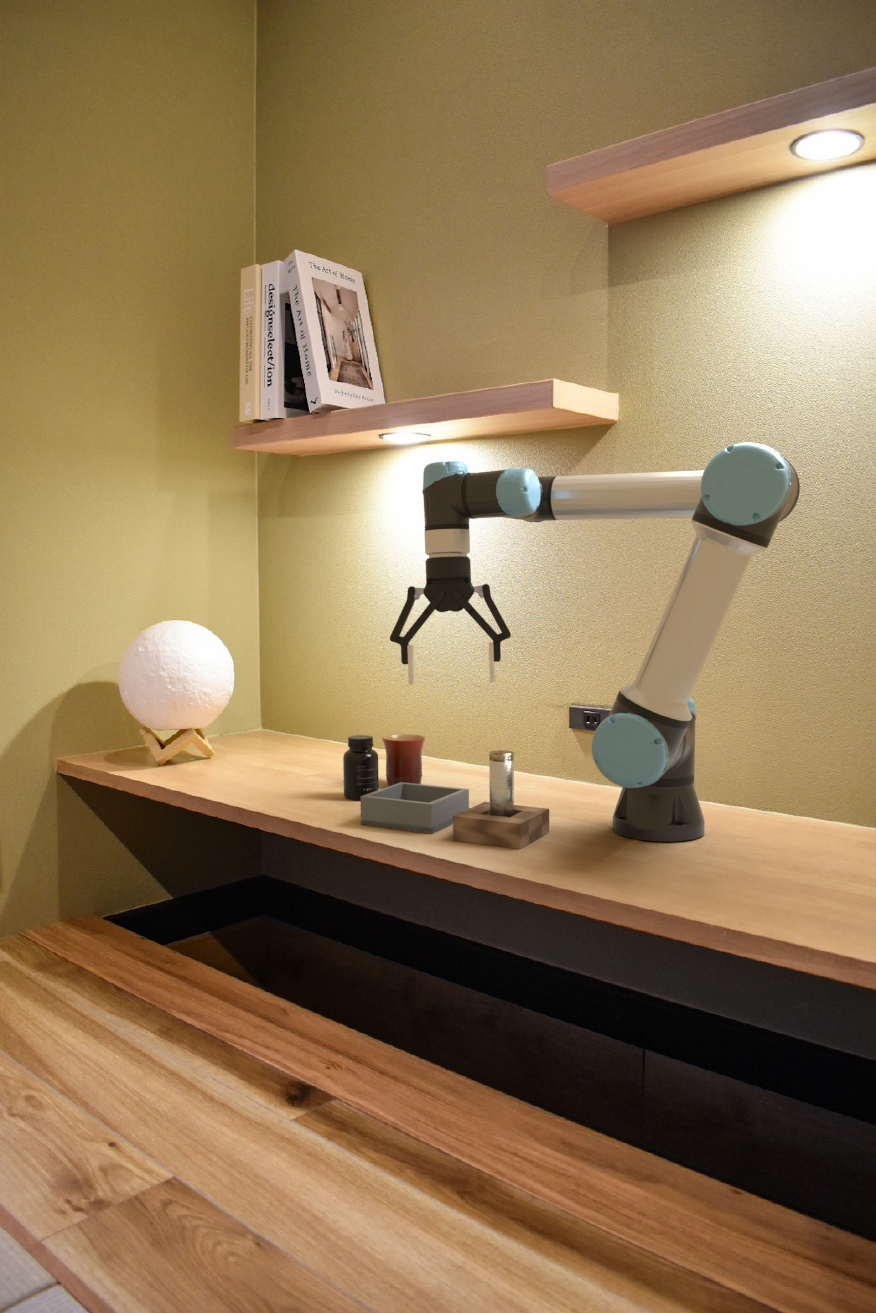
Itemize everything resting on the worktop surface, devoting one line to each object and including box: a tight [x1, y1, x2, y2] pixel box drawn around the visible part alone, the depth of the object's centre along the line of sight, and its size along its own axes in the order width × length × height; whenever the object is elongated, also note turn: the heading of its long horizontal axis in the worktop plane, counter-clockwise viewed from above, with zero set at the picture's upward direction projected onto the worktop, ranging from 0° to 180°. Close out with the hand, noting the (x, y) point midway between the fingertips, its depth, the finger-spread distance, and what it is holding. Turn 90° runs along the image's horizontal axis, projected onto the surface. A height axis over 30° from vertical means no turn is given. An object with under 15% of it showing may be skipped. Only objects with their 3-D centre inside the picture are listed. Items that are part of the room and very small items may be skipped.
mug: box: [381, 733, 426, 787], centre depth 210 cm, size 12×9×10 cm
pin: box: [488, 749, 515, 817], centre depth 167 cm, size 4×4×14 cm
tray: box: [360, 782, 470, 835], centre depth 179 cm, size 14×14×5 cm
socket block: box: [452, 801, 550, 850], centre depth 168 cm, size 12×12×4 cm
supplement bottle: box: [342, 734, 380, 802], centre depth 198 cm, size 7×7×12 cm
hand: (451, 683), depth 171 cm, fingers open, 13 cm apart
